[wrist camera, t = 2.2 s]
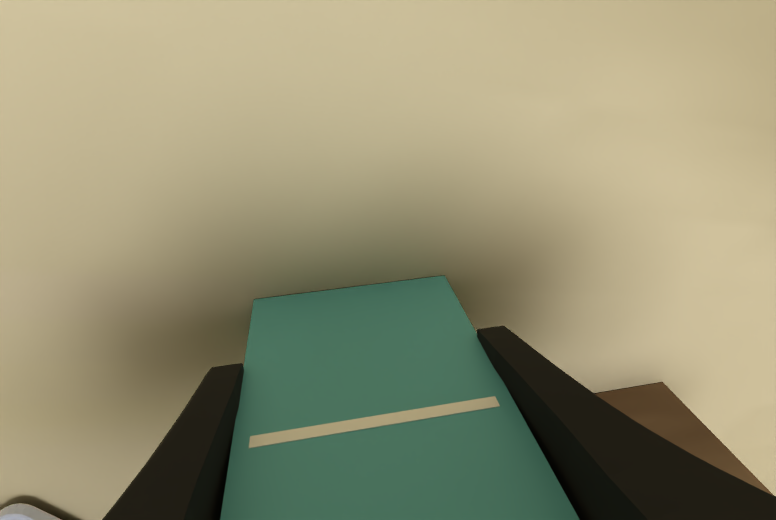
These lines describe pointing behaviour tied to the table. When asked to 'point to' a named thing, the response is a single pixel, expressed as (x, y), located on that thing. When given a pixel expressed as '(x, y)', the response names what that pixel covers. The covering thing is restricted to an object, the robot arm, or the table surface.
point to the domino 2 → (677, 426)
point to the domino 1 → (380, 415)
